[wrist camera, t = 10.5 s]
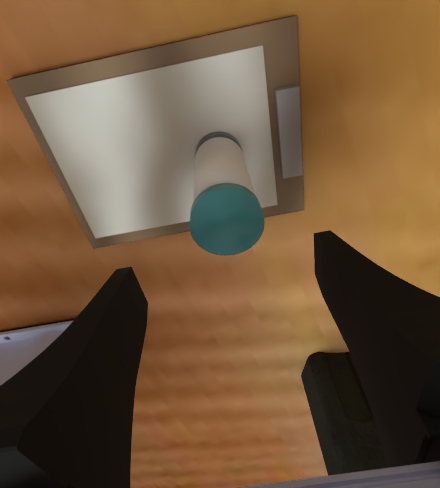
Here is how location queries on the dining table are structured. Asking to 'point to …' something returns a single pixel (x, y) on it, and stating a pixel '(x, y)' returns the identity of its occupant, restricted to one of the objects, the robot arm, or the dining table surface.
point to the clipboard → (169, 127)
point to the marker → (223, 198)
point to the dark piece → (342, 415)
